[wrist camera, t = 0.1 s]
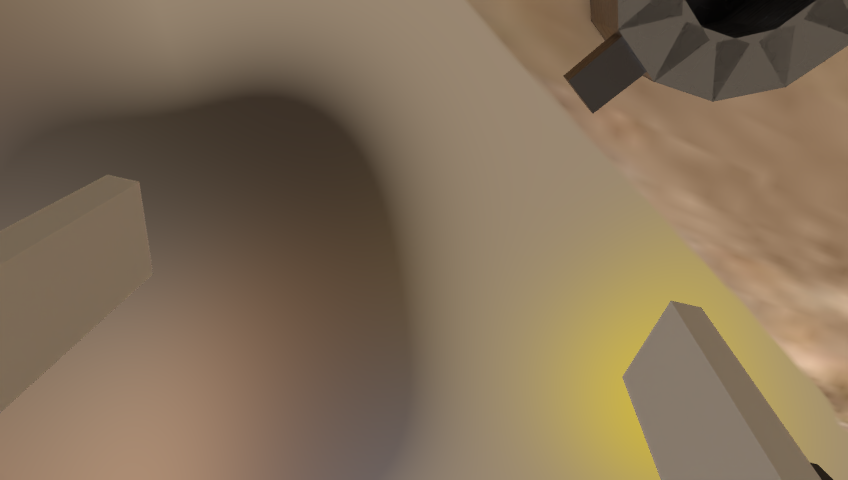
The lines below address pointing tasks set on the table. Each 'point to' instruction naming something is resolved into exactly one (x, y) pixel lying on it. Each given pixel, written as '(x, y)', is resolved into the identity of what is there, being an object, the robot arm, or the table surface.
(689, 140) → the table surface
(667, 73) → the pot
